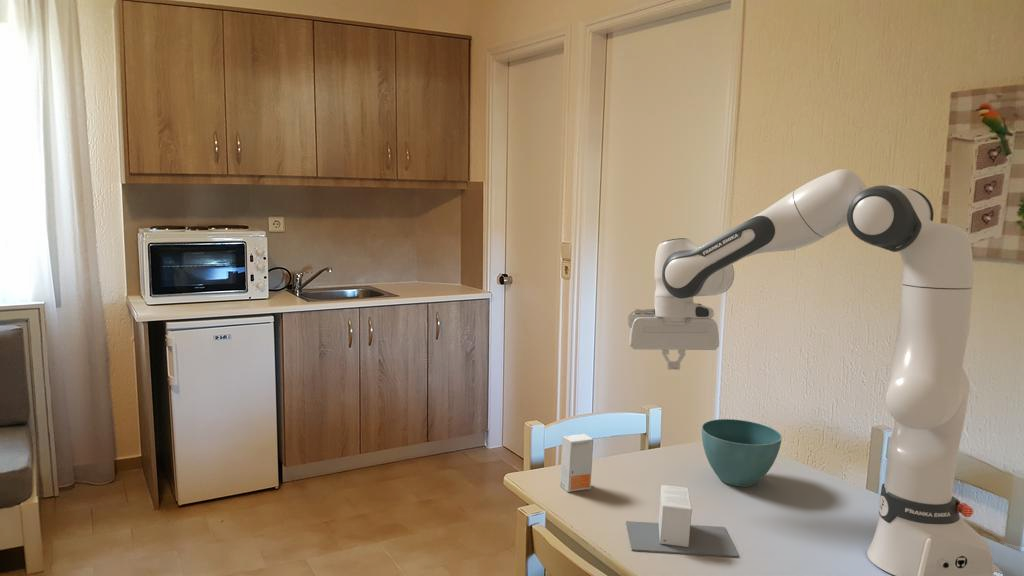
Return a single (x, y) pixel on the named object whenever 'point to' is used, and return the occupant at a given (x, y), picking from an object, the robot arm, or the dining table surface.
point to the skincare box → (576, 462)
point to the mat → (700, 543)
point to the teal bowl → (740, 450)
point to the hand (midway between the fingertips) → (673, 369)
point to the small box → (674, 516)
